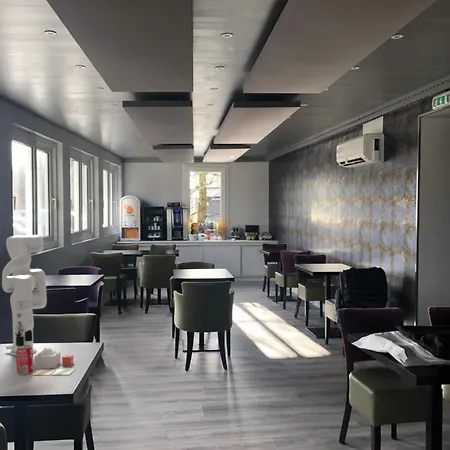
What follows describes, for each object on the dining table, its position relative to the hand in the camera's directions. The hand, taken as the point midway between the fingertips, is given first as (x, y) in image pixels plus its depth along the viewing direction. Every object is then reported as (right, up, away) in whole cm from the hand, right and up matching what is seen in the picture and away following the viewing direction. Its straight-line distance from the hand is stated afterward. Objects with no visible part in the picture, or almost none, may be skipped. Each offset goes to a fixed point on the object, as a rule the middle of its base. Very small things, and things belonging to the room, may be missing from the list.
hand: (24, 343), depth 237 cm
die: (+15, -13, +14) cm, 24 cm away
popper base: (+6, -13, +13) cm, 19 cm away
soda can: (0, -14, +1) cm, 14 cm away
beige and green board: (+13, -13, +1) cm, 18 cm away
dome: (+6, -10, +13) cm, 17 cm away
